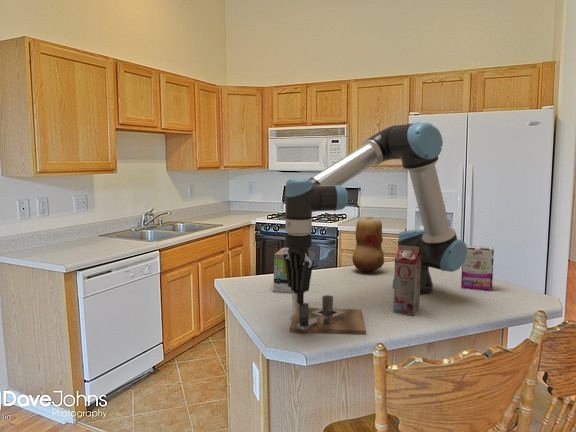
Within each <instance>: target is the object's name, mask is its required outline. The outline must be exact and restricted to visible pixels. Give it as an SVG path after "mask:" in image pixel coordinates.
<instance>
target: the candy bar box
mask: <svg viewBox="0 0 576 432" xmlns="http://www.w3.org/2000/svg"><path fill="white" fill-rule="evenodd" d="M466 246H467V256H466V259H465V261H464V263H463V265H462V266H461V285H460V287H461V289H466V288H469V289H468V290H477V289H478V290H479V291H490V292H491V291H493V281H494V279H493V276H494V272H493V271H494V252H495V251H494V247H492V246H479V245H475V246H474V245H466Z"/></svg>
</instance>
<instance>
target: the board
mask: <svg viewBox="0 0 576 432" xmlns="http://www.w3.org/2000/svg"><path fill="white" fill-rule="evenodd" d="M321 299H322V300H321V301H322V306H321V307H319V308H317V307H316V308H315V307H309V319H312V318H311V312H314V311H316V310H319V309H322V314H324V315H328V316H330V315H332V314H333V309H335V310H338V311H342V312H344V318H342V319H340V320H338V321H335V322H333V323H331V324H328V323H325V322H324V317H322V316H319V317H317V325H316V326H314V327H312V328H309V329H307V330H305V331H304V330H301V329H298V328H297V324H299V323H300V314H296V315H295V314H293V313H292V316H291V321H290V323H289V331H288V332H289V333H306V334H307V333H309V334H339V335H340V334H341V335H367V329H366V325H365V323H366V322H365V320H364V316H363V311H362V309H360V308H359V309H358V308H357V309H356V308H355V309H354V308H353V309H352V308H350V309H349V308H334V296H333V295H330V294H328V295H327V294H326V295H322V298H321Z"/></svg>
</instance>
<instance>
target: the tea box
mask: <svg viewBox="0 0 576 432" xmlns="http://www.w3.org/2000/svg"><path fill="white" fill-rule="evenodd" d="M288 249H289V248H288V247H282V248H280V249H279V250H278V251H277V252H275V253H274V254H273V262H274V263H273V292H279V293H291V294H292V290H291V287H288V283H287V274H286V266H285V260H284V257H283V254H287V253H288Z"/></svg>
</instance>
